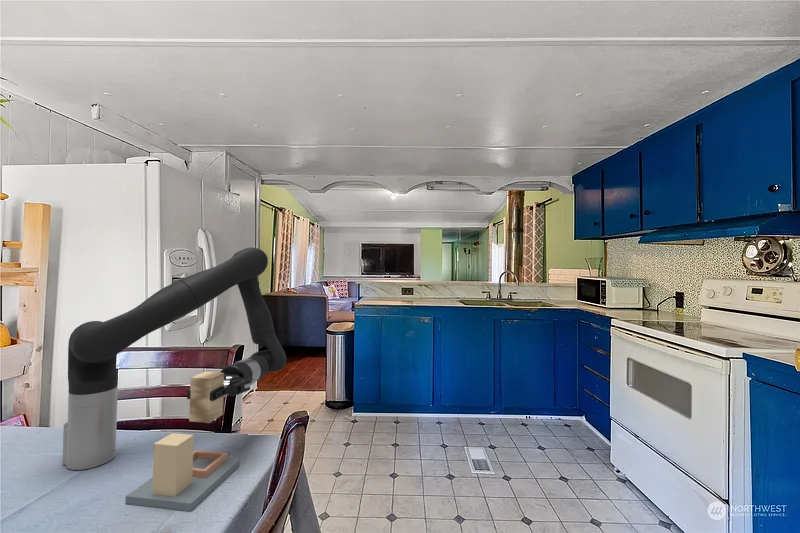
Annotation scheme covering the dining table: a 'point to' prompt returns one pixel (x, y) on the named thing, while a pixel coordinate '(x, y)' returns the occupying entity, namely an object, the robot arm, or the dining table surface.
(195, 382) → the maple pillar
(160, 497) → the base board
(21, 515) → the dining table surface
